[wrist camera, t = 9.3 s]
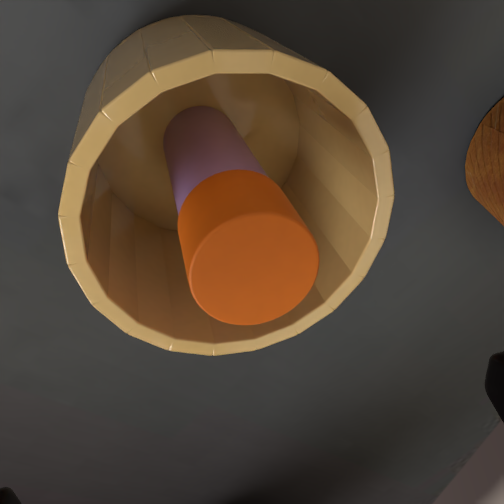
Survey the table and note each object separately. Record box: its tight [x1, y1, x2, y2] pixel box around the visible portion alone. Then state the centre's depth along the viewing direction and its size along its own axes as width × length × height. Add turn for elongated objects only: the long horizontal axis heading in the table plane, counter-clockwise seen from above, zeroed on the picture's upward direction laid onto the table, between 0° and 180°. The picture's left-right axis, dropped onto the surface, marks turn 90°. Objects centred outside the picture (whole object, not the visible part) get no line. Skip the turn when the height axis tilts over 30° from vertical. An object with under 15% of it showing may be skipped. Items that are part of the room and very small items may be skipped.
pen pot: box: [58, 15, 394, 356], centre depth 16 cm, size 9×9×8 cm
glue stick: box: [163, 106, 319, 325], centre depth 14 cm, size 3×3×9 cm
